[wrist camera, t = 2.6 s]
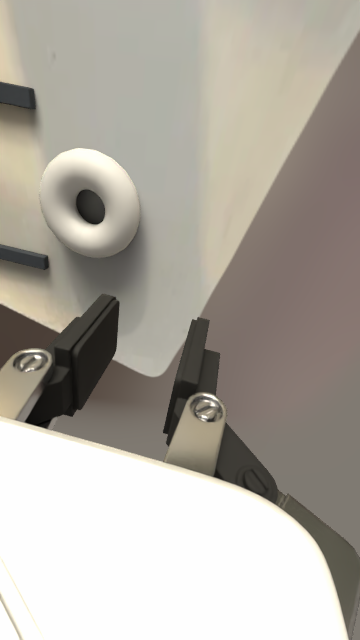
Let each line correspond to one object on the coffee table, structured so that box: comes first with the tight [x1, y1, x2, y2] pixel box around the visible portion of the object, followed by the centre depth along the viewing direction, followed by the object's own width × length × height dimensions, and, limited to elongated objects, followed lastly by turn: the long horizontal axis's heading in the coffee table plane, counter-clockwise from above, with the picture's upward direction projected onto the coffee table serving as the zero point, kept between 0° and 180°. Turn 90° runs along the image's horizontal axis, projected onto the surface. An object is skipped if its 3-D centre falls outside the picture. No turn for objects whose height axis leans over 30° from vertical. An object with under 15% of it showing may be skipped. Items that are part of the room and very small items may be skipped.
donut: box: [39, 148, 140, 258], centre depth 28 cm, size 10×4×10 cm
